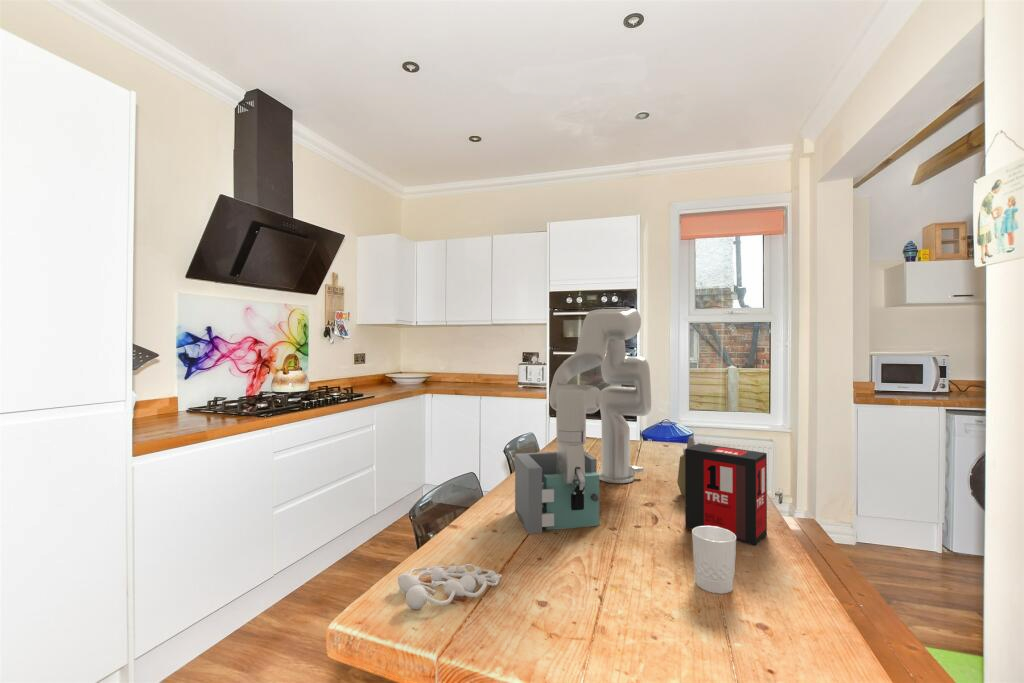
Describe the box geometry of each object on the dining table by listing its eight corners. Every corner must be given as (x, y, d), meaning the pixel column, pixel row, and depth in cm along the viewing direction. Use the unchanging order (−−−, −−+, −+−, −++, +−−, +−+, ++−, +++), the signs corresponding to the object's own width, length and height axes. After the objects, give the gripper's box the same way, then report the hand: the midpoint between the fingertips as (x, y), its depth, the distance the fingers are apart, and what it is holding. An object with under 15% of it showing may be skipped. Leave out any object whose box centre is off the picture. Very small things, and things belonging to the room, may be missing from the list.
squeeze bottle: (676, 498, 143) (676, 438, 143) (678, 490, 150) (678, 433, 150) (705, 501, 140) (705, 440, 140) (705, 493, 147) (705, 435, 147)
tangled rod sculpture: (485, 569, 101) (485, 549, 102) (513, 596, 88) (513, 573, 89) (393, 586, 93) (393, 564, 94) (409, 618, 80) (409, 593, 81)
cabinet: (583, 506, 136) (583, 450, 136) (605, 527, 120) (605, 464, 120) (515, 511, 132) (515, 453, 132) (528, 534, 116) (528, 468, 116)
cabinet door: (595, 521, 125) (595, 472, 125) (601, 527, 121) (601, 476, 121) (543, 525, 122) (543, 474, 122) (548, 531, 118) (547, 479, 118)
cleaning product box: (685, 527, 121) (685, 448, 121) (699, 517, 127) (699, 443, 127) (755, 546, 109) (755, 459, 109) (766, 534, 116) (766, 453, 116)
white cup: (733, 600, 87) (733, 545, 87) (688, 588, 91) (688, 536, 91) (738, 581, 93) (738, 530, 93) (696, 571, 97) (696, 522, 97)
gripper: (547, 430, 130) (547, 493, 130) (567, 444, 113) (567, 516, 113) (574, 429, 131) (574, 491, 131) (597, 442, 114) (597, 514, 114)
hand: (571, 503), depth 122 cm, fingers open, 9 cm apart
